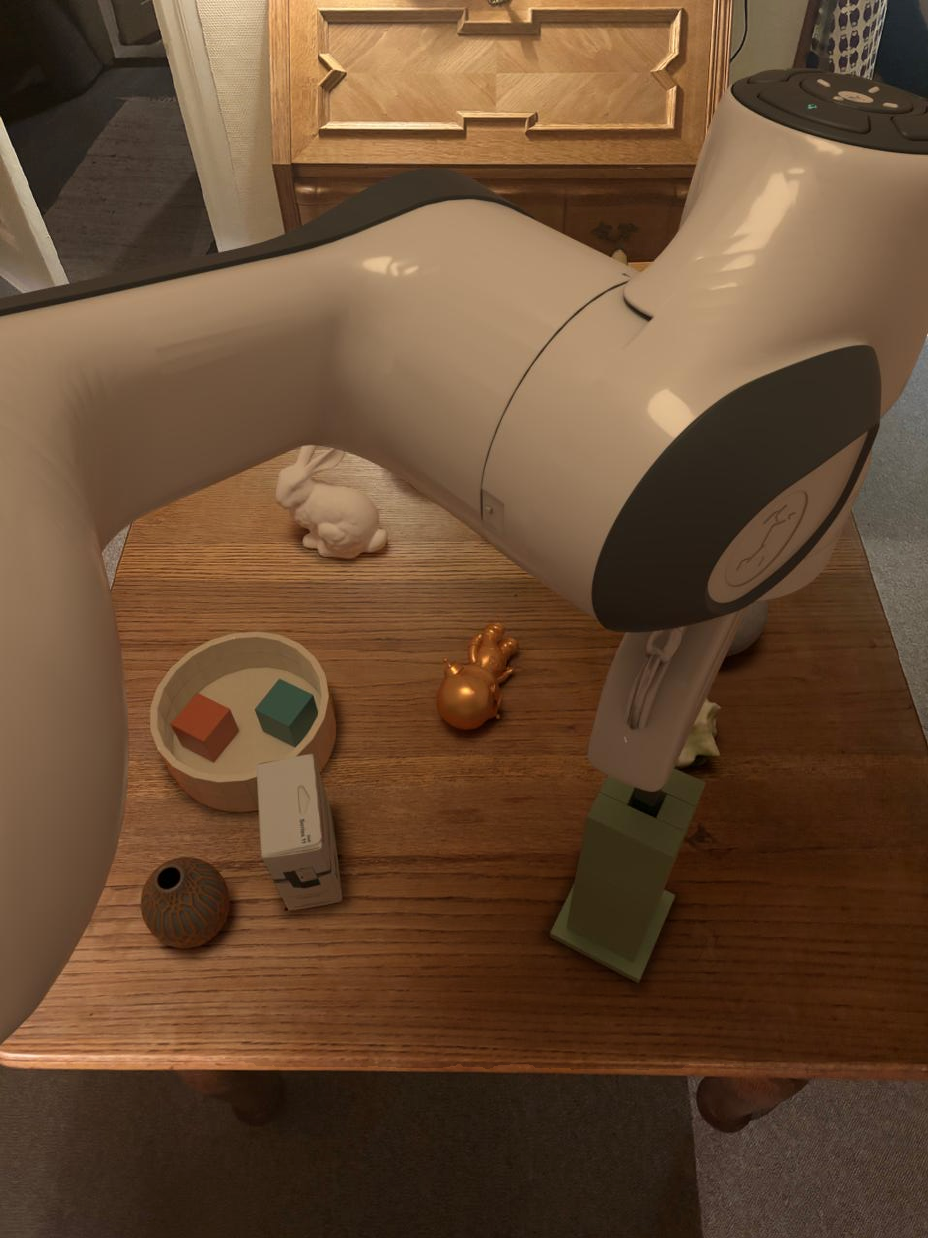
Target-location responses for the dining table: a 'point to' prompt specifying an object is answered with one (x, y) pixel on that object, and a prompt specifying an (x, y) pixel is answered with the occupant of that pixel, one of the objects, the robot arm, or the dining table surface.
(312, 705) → the teal block
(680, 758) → the cream irregular lump
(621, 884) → the stick stand
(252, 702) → the bowl
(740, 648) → the decorative ball
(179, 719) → the terracotta block
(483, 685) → the figurine
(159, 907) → the vase
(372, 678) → the dining table surface
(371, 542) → the rabbit
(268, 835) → the ink box
